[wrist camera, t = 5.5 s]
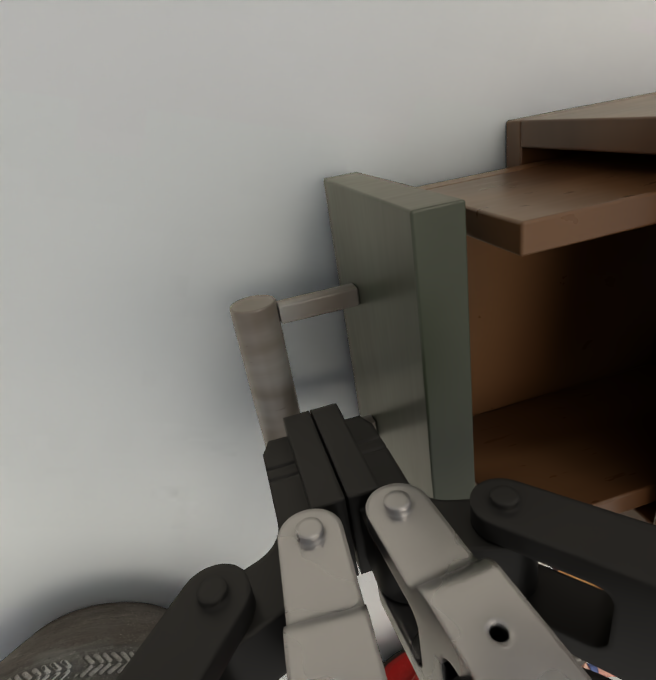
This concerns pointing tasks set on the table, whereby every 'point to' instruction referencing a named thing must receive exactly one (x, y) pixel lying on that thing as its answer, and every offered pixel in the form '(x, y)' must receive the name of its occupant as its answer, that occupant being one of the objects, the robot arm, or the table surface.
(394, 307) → the drawer
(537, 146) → the cabinet
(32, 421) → the table surface
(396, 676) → the headphones
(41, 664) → the planter
